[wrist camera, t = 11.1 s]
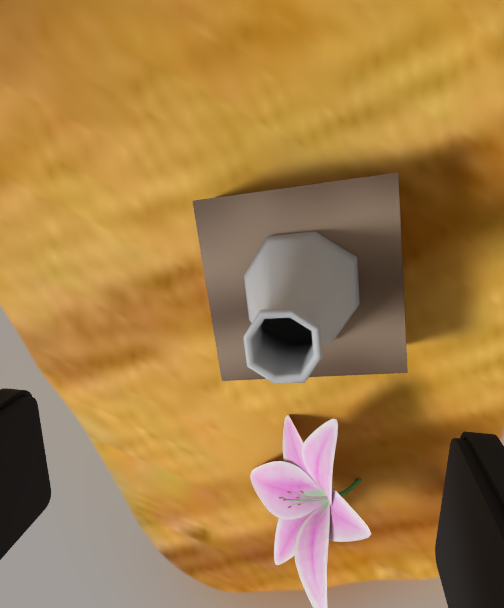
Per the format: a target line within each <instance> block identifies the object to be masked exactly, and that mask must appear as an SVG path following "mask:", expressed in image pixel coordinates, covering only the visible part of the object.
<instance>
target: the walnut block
mask: <svg viewBox="0 0 504 608" xmlns="http://www.w3.org/2000/svg"><path fill="white" fill-rule="evenodd" d="M193 207H194V213H195V219H196V225H197V231H198V237H199V243H200V249H201V255H202V262H203V268H204V274H205V280H206V286H207V292H208V298H209V304H210V310H211V317H212V323H213V329H214V335H215V341H216V347H217V353H218V359H219V366H220V372H221V378H222V381H230V380H252V379H266V378H264V377H263V376H261V375H260V374H258V373H256V372H255V371H253V370H252V369H250V368H248V367H247V362H246V354H245V346H244V338H243V337H244V335H245V333H246V332H247V330H248V329H249V327H250V325H251V324H252V323H251V322H250V320H249V314H248V306H247V298H246V289H245V281H244V275H245V273H246V271H247V270H248V268H249V266H250V265H251V263H252V261H253V259H254V258H255V256H256V254H257V253H258V251H259V249H260V248H261V246H262V244H263V242H264V241H265V239H266V237H267V236H274V235H285V234H295V233H305V232H317V233H319V234H320V235H322V236H323V237H325V238H327V239H328V240H330V241H332V242H333V243H335V244H336V245H338V246H340V247H341V248H343V249H345V250H346V251H348V252H350V253H351V254H353V255H354V256H356V257H357V263H358V281H359V300H360V305H359V306H358V308H357V309H356V310H355V312H354V313H353V315H352V316H351V317H350V319H349V320H348V322H347V323H346V324H345V326H344V327H343V329H342V330H341V331H340V333H339V334H338V336H337V337H336V338H335V340H334V341H333V342H331V343H325V344H322V359H321V360H320V362H319V363H318V365H317V366H316V367H315V369H314V370H313V372H312V373H311V374H310V376H309V377H320V376H343V375H366V374H388V373H407V352H406V330H405V309H404V287H403V265H402V243H401V222H400V200H399V178H398V172H397V173H389V174H382V175H375V176H368V177H361V178H354V179H346V180H339V181H332V182H325V183H318V184H311V185H303V186H296V187H289V188H282V189H275V190H268V191H260V192H253V193H246V194H239V195H232V196H224V197H217V198H210V199H203V200H196V201H193Z"/></svg>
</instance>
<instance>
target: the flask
mask: <svg viewBox="0 0 504 608" xmlns="http://www.w3.org/2000/svg"><path fill="white" fill-rule="evenodd" d="M244 281H245V289H246V298H247V306H248V314H249V320H250V322H251V323H252V324H251V325H250V327H249V329H248V330H247V332H246V333H245V335H244V337H243V338H244V346H245V354H246V362H247V367H248V368H250V369H252V370H253V371H255V372H256V373H258V374H260V375H261V376H263V377H264V378H266V379H268V380H269V381H271V382H272V383H304V382H305V381H306V380H307V379H308V377H309V376H310V374H311V373H312V372H313V370H314V369H315V367H316V366H317V365H318V363H319V362H320V360H321V359H322V344H325V343H331V342H333V341H334V340H335V338H336V337H337V336H338V334H339V333H340V331H341V330H342V329H343V327H344V326H345V324H346V323H347V322H348V320H349V319H350V317H351V316H352V315H353V313H354V312H355V310H356V309H357V308H358V306H359V305H360V300H359V281H358V263H357V257H356V256H354V255H353V254H351V253H350V252H348V251H346V250H345V249H343V248H341V247H340V246H338V245H336V244H335V243H333V242H332V241H330V240H328V239H327V238H325V237H323V236H322V235H320V234H319V233H317V232H305V233H295V234H285V235H274V236H267V237H266V239H265V241H264V242H263V244H262V246H261V248H260V249H259V251H258V253H257V254H256V256H255V258H254V259H253V261H252V263H251V265H250V266H249V268H248V270H247V271H246V273H245V275H244Z"/></svg>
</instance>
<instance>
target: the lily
mask: <svg viewBox="0 0 504 608" xmlns="http://www.w3.org/2000/svg"><path fill="white" fill-rule="evenodd" d="M337 434H338V423H337V419H331V420H329V421H327V422H325V423H324V424H323V425H321V426H320V427H319V428H317V429H316V430H315V431H314V432H313V433H312V434H311V435H310V436H309V437H308V438H307V439H306V440H305V442H304V443H303V441H302V439H301V437H300V436H299V434H298V432H297V430H296V428H295V426H294V424H293V422H292V420H291V419H290V417H289V416H288V415H287V417H286V418H285V422H284V431H283V459H284V462H283V461H273V462H269V463H266V464H263V465H260V466H258V467H256V468H255V469H254V470H252V473H251V476H250V477H251V482H252V484H253V487H254V489H255V491H256V493H257V495H258V496H259V498H260V500H261V501H262V503H263V504H264V505H265V507H266V508H267V509H268V510H269V511H270V512H271V513H272V514H273V515H275V516H276V517H279V520H278V524H277V529H276V536H275V545H274V560H275V564H276V565H280V564H282V563H284V562H286V561H287V560H289V559H290V558H292V557H293V556H294V555H295V562H296V567H297V570H298V573H299V576H300V579H301V582H302V584H303V586H304V589H305V591H306V594H307V596H308V598H309V600H310V602H311V604H312V606H313V608H327V555H328V542H329V539H330V540H332V541H338V542H347V541H356V540H362V539H365V538H368V537H369V536H370V535H371V532H370V530H369V528H368V526H367V525H366V524H365V523H364V521H363V520H362V519H361V518H360V517H359V516H358V514H357V513H356V512H355V511H354V510H353V509H352V508H351V506H350V505H349V504H348V503H347V502H346V501H345V500H344V499H343V498H342V496H344V495H346V494H347V493H348V492H350V491H351V490H352V489H353V488H354V487H355V486H356V485H358V484H359V483H360V482H361V480H360V479H357V480H356V481H355V482H354V483H353V484H352V485H351V486H349V487H348V488H347V489H346V490H344V491H342V492H340V493H337V492H336V491H335V490H334V489H333V488H332V473H333V463H334V455H335V448H336V442H337Z"/></svg>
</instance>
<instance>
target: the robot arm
mask: <svg viewBox="0 0 504 608" xmlns="http://www.w3.org/2000/svg"><path fill="white" fill-rule="evenodd" d="M50 497H51V488H50V481H49V474H48V468H47V462H46V455H45V449H44V443H43V436H42V430H41V423H40V418H39V411H38V405H37V401H36V399H35V398H33V397H32V395H31V394H30V392H28V391H26V390H16V389H1V390H0V560H1V558H2V557H3V556H4V555H5V554H6V553H7V552H8V550H9V549H10V548H11V547H12V546H13V545H14V543H15V542H16V541H17V540H18V539H19V538H20V537H21V536H22V535H23V533H24V532H25V531H26V530H27V529H28V528H29V527H30V526H31V524H32V523H33V522H34V521H35V520H36V519H37V518H38V516H39V515H40V514H41V513H42V512H43V510H45V508H46V507H47V505H48V503H49V501H50ZM435 554H436V563H437V568H438V571H439V575H440V579H441V582H442V586H443V590H444V593H445V597H446V600H447V604H448V608H504V446H503V445H502V443H501V441H500V440H499V438H498V437H497V436H496V435H493V434H484V433H473V432H463V433H462V435H461V437H460V439H459V438H453V439H452V440H451V444H450V450H449V457H448V463H447V470H446V477H445V484H444V491H443V497H442V504H441V511H440V518H439V525H438V531H437V538H436V546H435Z"/></svg>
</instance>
